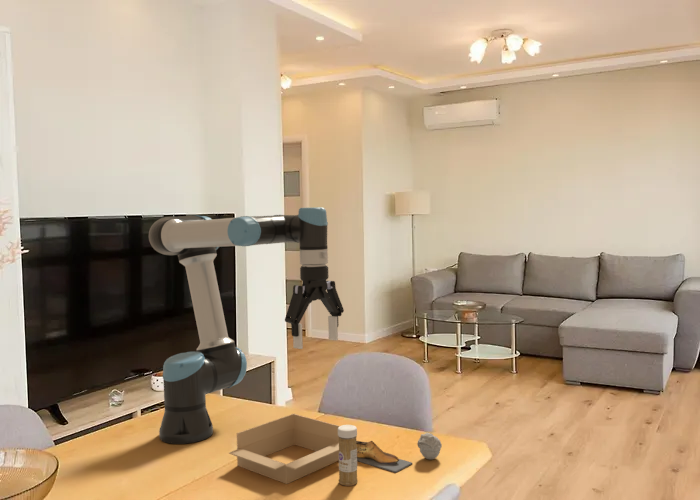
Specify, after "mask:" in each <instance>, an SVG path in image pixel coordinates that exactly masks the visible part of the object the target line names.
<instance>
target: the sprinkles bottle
mask: <svg viewBox="0 0 700 500" xmlns="http://www.w3.org/2000/svg"><path fill="white" fill-rule="evenodd" d="M338 426H339V427H338V437H339V461H338V476H339V478H338V484H339V485H342V486H346V487H349V486H350V487H352V486H354V485H356V484H357V483H358V482H359V480H358V461H357V444H356V441H357V436H358V428H357V426H356V425H354V424H353V425H352V424H342V425H338Z"/></svg>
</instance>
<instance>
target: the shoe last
mask: <svg viewBox="0 0 700 500" xmlns="http://www.w3.org/2000/svg"><path fill="white" fill-rule="evenodd" d="M356 444H357V458H368V459H372V460H374V461H376V462H378V463H383V464H396V463H397V462H398V461H399V459H400V458H399V457H397V456H396V455H394V454H393V453H389V452H386V451H383V450H382V449H381V448H380V447H379V446H378V444H376V443H375V442H374V441H373V440H370V441H368V442H367V441H360V440H356Z"/></svg>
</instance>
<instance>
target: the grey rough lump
mask: <svg viewBox="0 0 700 500" xmlns="http://www.w3.org/2000/svg"><path fill="white" fill-rule="evenodd" d="M416 444H417V447H418V448H419V452H420V454H421V455H422V457H423V458H425V459H427V460H434V459H437V457H438V456H439V455H440V452H441V449H442V443H441V440H440V439H439V437H438V436H436V435H434V434H433V433H432V432H431V433H429V432H425V433H421V434H420V437H419V439H418V440H417V443H416Z"/></svg>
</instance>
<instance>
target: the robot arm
mask: <svg viewBox="0 0 700 500" xmlns="http://www.w3.org/2000/svg"><path fill="white" fill-rule="evenodd" d="M327 216H328V215H327V209H326V208H324V207H318V206H317V207H299V209H298V214H296V215H295V214H294V215H292V214H274V215H260V216H259V215H253V216H251V215H250V216H248V215H246V216H245V215H244V216H238V217H226V218H215V219H212V218H211V217H209V216H206V215H183V216H181V215H178V216H165V217H162V218H159V219H157V220H156V221H154V223H153V224H152V225H151V226H150V228H149V232H148V241H149V243H150V245H151V248H153V250H154V251H156V252H157V253H159V254H162V255H165V256H177V258H178V262H179V264H181V265H182V266H183V267H185V271H186V276H187V281H188V287H189V292H190V296H191V297H190V298H191V301H192V308H193V312H194V318H195V321H196V322H195V323H196V327H197V332H198V337H199V345H198V347H197V348H196V351H187V352H180V353H177V354H174V355H171V356H170V357H167V358H166V360H165V361H164V362H163V365H162V369H163V370H162V380H163V400H164V405H163V406H164V413H163V416H162V419H161V422H160V427H159V430H158V433H159V435H158V436H159V440H160V441H161V442H163V443H167V444H173V445H182V444H183V445H185V444H192V443H197V442H201V441H204V440H207V439H208V438H210V437H211V436H212V435H213V433H214V428H213V423H212V420H211V417H210V415H209V412H208V409H207V405H206V404H207V403H206V402H207V401H206V400H207V399H206V395H208V394H211V393H215V392H218V391H221V390H225V389H231V388H232V387H233V386H236V385H238V384H239V383H241V381H242V380H244V377H245V375H246V373H247V368H248V367H247V366H248V363H247V357H246V355H245V352H242V349H241V348H239V347H237V346H236V344H235V340H234V339H232V338H230V337H229V334H228V328H227V324H226V320H225V319H226V318H225V315H224V314H225V313H224V309H223V304H222V299H221V294H220V290H219V289H220V288H219V285H218V279H217V273H216V269H215V265H214V260H215V259H216V257H217V255H218V254H217V250H218V249H219V248H220V247H221V248H222V247H252V246H259V245H268V244H269V245H272V244H282V243H283V244H286V243H294V244H295V243H297V244H299V264H300V265H301V266H300V267H299V272H300V274H299V278H300V280H301V281H302V285H293V287H292V296H291V298H290V301H289V305H288V308H287V312H286V313H285V314H286V315H285V318H284V322H285V323H288V324H290V328H291V336H292V340H293V341H292V344H293V345H292V346H293V349H299V350H303V349H304V348H303V347H304V345H303V340H304V339H303V324H302V323H301V321H302V319H303V317H304V315H305V313H306V311H307V310H308V307H309V305H310V304H311V303H312V302H313V301H317V300H320V301H321V304H322V305H323V306H324V307H325V309H326V310H327V312H328V314H329V315H328V316H327V319H328V320H327V321H328V323H327V324H328V325H327V326H328V340H329V341H330V340H332V341H338V340H339V338H338V336H339V334H338V333H339V331H338V327H339V317H341V316H342V314H343V313H344V310H345V309H344V307H343V304H342V301H341V299H340V297H339V294H338V291H337V288H336V287H337V286H336V281H334V280H328V279H329V267H328V265H327V264H328V263H329V260H328V259H329V256H328V255H329V253H328V250H329V249H328V225H329V223H328V217H327Z"/></svg>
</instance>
